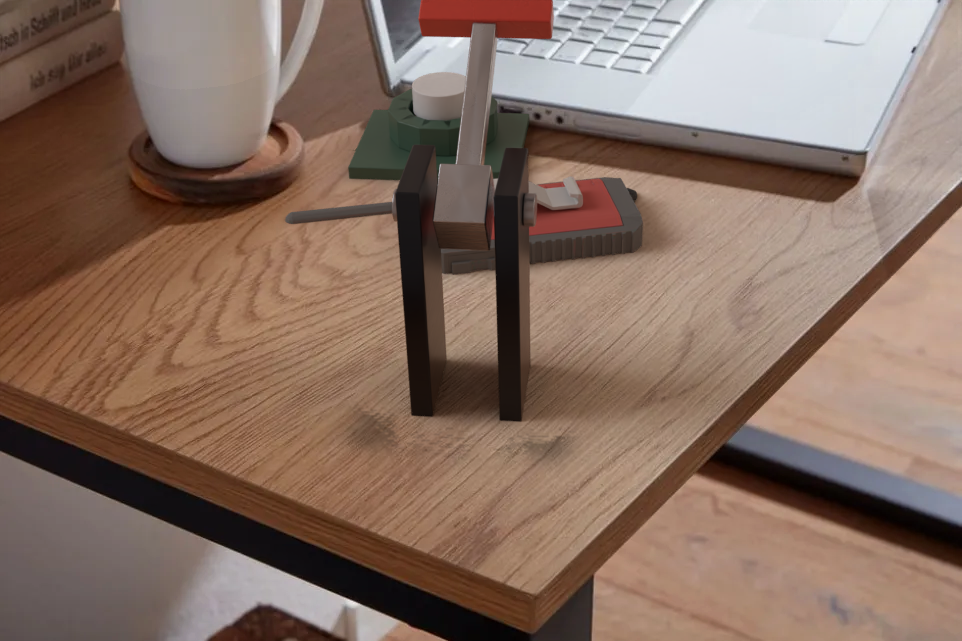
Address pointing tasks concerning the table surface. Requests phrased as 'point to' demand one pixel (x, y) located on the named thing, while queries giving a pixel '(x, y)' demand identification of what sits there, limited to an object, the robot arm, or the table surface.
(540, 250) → the walkie-talkie
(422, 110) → the button
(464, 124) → the lever
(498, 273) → the bracket
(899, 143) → the table surface
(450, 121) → the switch box
